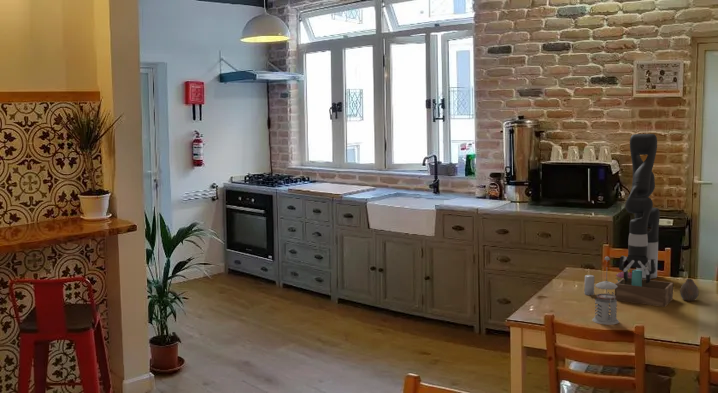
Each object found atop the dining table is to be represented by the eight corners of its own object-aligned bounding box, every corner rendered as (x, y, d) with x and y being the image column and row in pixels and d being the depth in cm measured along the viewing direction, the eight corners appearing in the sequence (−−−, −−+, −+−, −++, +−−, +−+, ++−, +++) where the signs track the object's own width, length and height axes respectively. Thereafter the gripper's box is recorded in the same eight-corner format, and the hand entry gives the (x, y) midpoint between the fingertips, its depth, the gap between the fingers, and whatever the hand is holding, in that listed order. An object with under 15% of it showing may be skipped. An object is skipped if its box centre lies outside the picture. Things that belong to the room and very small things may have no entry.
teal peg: (632, 296, 305) (633, 269, 304) (642, 298, 303) (643, 270, 302) (630, 298, 302) (630, 271, 301) (639, 300, 300) (640, 272, 298)
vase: (700, 302, 295) (700, 281, 294) (682, 301, 296) (683, 281, 295) (695, 298, 302) (696, 277, 301) (678, 297, 303) (679, 277, 302)
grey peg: (586, 292, 314) (586, 274, 313) (595, 293, 312) (595, 275, 311) (583, 294, 311) (583, 276, 310) (592, 295, 308) (592, 277, 307)
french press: (613, 316, 278) (614, 253, 275) (625, 325, 266) (627, 260, 263) (588, 317, 277) (589, 254, 274) (599, 326, 266) (600, 260, 263)
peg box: (623, 292, 312) (624, 276, 311) (672, 298, 301) (673, 282, 300) (614, 299, 301) (615, 283, 300) (664, 306, 289) (665, 290, 289)
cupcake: (632, 284, 325) (633, 259, 324) (638, 289, 317) (638, 263, 315) (613, 284, 326) (614, 259, 325) (618, 289, 318) (618, 263, 316)
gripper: (657, 244, 299) (656, 281, 301) (623, 240, 307) (621, 277, 309) (653, 247, 293) (652, 285, 295) (618, 243, 301) (617, 281, 303)
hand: (636, 281), depth 302 cm, fingers open, 8 cm apart
